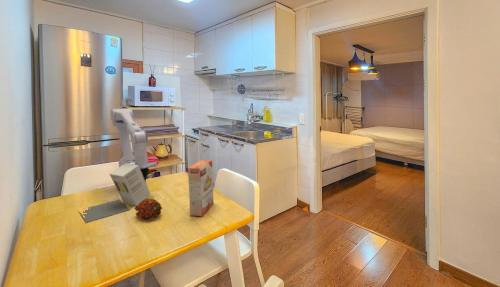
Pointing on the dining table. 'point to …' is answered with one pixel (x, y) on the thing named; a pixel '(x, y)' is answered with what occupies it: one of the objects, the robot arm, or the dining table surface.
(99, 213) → the mat
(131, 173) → the supplement box
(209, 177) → the cracker box
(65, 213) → the dining table surface
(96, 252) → the dining table surface
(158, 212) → the reddish-brown bumpy oval
